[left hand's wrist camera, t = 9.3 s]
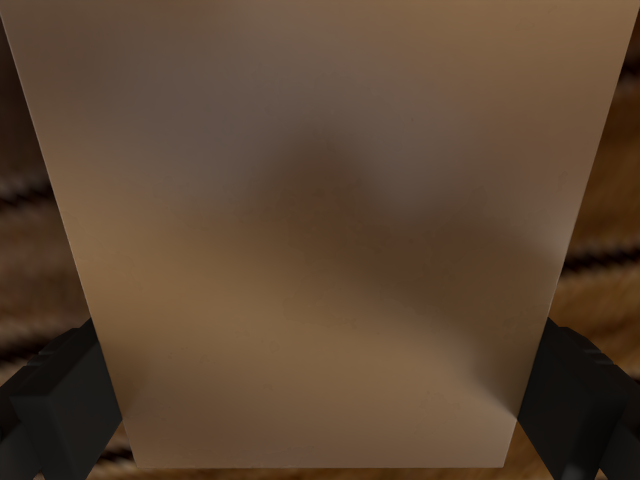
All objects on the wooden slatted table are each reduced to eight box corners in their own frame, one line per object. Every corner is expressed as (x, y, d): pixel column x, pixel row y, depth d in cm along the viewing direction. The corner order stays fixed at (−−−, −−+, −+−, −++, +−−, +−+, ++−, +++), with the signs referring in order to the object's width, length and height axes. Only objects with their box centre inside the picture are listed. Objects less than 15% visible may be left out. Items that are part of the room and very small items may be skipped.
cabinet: (139, -257, 11) (-409, -1327, 3) (497, -257, 11) (1040, -1329, 3) (216, 305, 18) (136, 469, 10) (423, 305, 18) (503, 468, 10)
